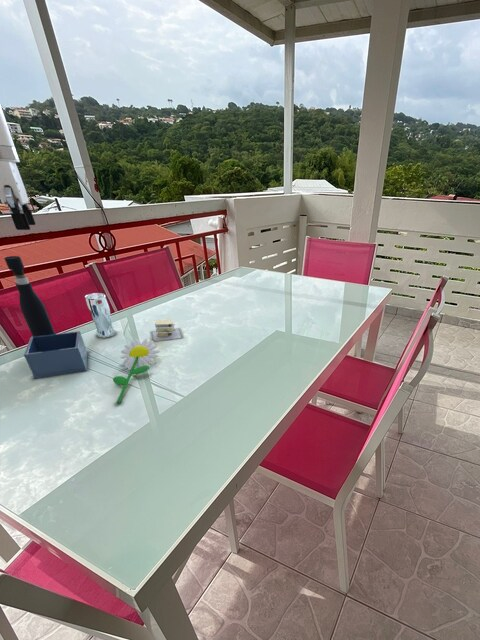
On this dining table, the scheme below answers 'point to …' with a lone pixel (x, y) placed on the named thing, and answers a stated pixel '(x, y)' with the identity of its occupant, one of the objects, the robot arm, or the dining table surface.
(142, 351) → the decorative flower
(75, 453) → the dining table surface
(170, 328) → the stacked layers on plate
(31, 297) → the wine bottle
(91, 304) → the beer glass
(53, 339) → the blue grey open box
